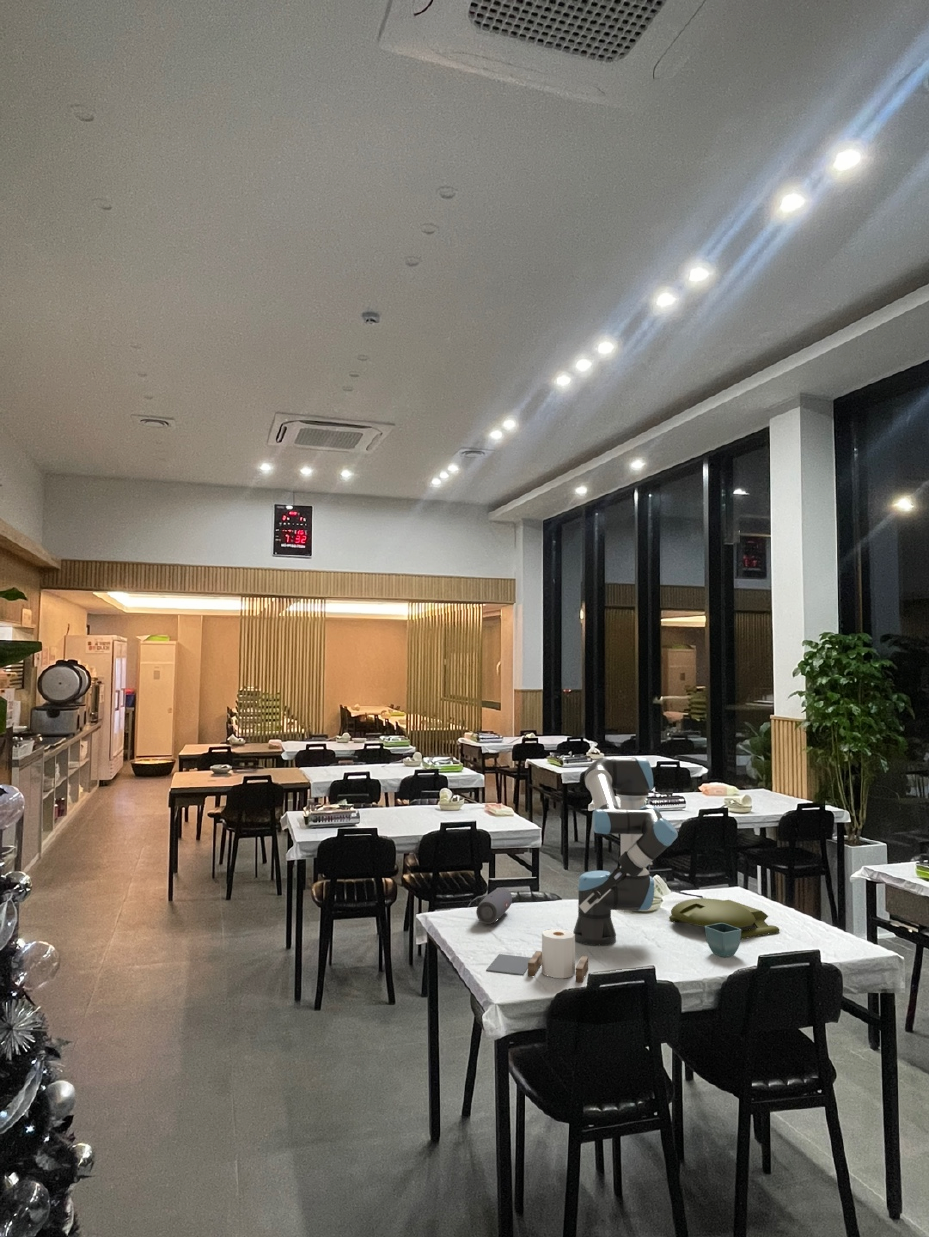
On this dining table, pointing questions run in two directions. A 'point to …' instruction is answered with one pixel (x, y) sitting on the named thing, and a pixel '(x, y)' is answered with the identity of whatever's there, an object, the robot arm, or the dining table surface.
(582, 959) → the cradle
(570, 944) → the toilet paper
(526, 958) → the mat
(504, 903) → the bluetooth speaker
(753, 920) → the spaceship
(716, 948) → the flower pot
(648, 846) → the robot arm
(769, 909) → the dining table surface
